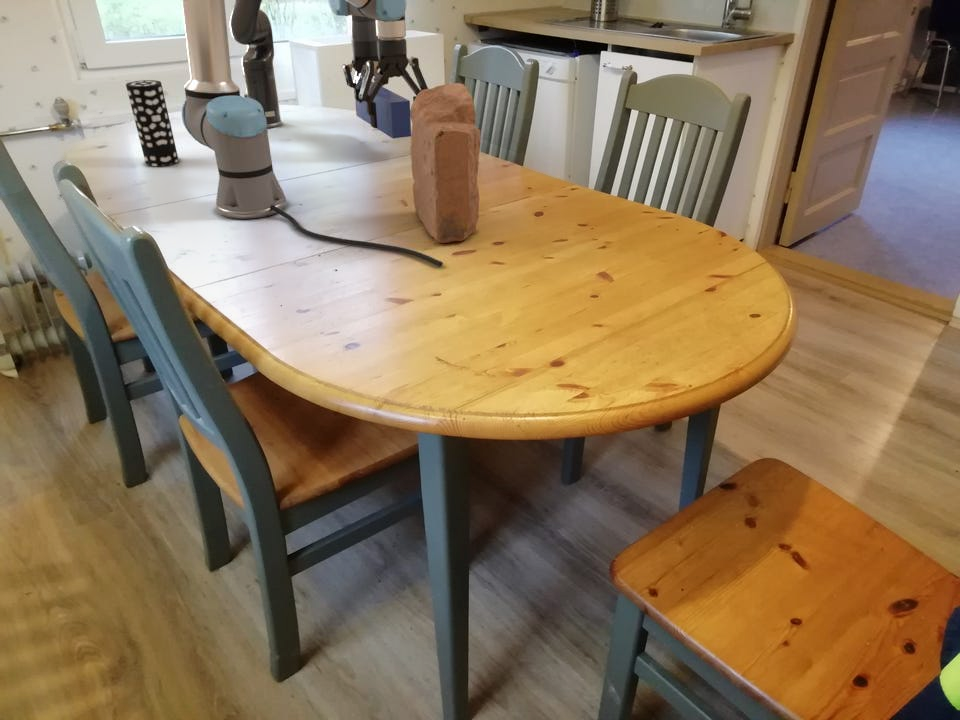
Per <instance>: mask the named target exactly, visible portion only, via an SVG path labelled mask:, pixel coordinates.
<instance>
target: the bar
mask: <svg viewBox="0 0 960 720" xmlns="http://www.w3.org/2000/svg"><path fill="white" fill-rule="evenodd" d="M362 83H363V81H362V82H361V86H362ZM373 83H374V81H373V80H372V81H371V85H370V88H369V90H370V89H371V87H372V85H373ZM361 86H360V89H361ZM368 92H369V91H368ZM354 100H355V99H354ZM373 102H375V103H376V114H377V128H376V129H377V130H378V131H380V132H382V133H383V134H385V135H386V136H388V137H390V138H391V139H400V138H401V139H402V138H408V137H410V138H411V133H412V125H411V124H412V120H411V116H410V109H411V101H410V100H409V99H407V98H405V97H403V96H401V95H399V94H398V93H395V92H394V91H392V90H389V89H387V88H386V87H384V86H383V87H382V86H381V88H380V89H379V91H378V93H377V95H376V96H375V98H374V100H373ZM354 103H355V114H356V115H355V116H356V117H358V118H360V119H361V120H362V121H364V122H366V123H367V124H369V125H371V118H370V115H368V114H367V108H366V102H365V101H362V102H361V103H358V102H357V100H355V101H354Z"/></svg>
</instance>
